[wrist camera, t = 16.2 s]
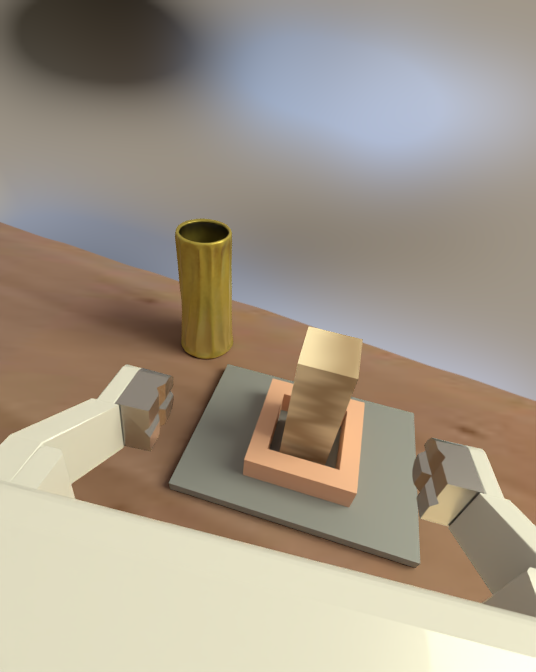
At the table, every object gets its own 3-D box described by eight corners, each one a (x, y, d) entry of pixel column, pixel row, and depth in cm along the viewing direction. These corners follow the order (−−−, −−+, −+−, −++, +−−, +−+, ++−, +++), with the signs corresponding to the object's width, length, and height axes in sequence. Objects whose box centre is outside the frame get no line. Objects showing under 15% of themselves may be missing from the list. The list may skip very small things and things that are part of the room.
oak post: (278, 457, 32) (297, 363, 24) (288, 420, 35) (308, 326, 27) (322, 470, 31) (358, 379, 23) (329, 432, 34) (362, 339, 26)
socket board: (169, 488, 30) (165, 467, 28) (227, 370, 40) (228, 347, 38) (415, 567, 27) (433, 552, 25) (410, 419, 37) (423, 398, 35)
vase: (187, 322, 45) (178, 213, 36) (235, 327, 46) (239, 219, 36) (176, 357, 41) (162, 242, 31) (229, 362, 41) (232, 249, 32)
